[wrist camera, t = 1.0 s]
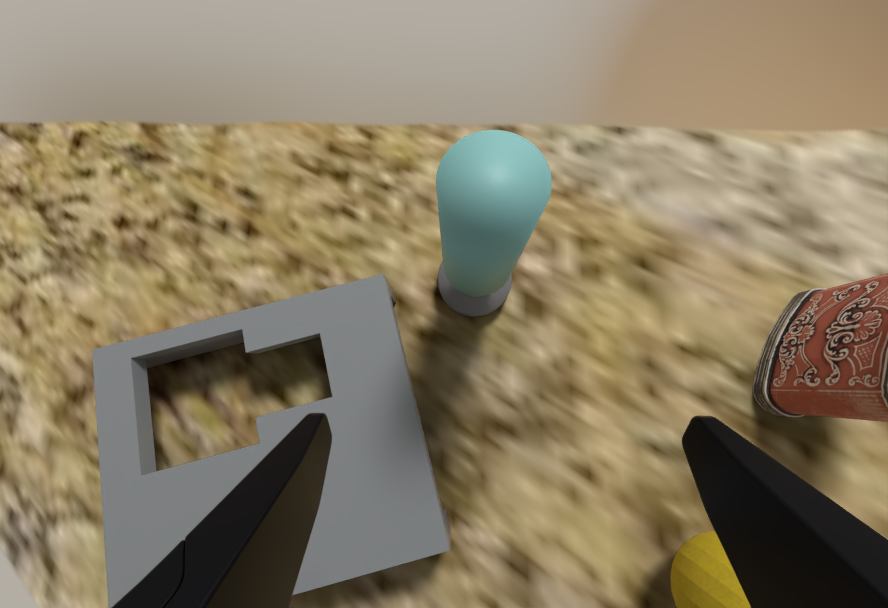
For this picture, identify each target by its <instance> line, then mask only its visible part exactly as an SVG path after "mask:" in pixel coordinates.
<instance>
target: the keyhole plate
mask: <svg viewBox="0 0 888 608" xmlns="http://www.w3.org/2000/svg"><path fill="white" fill-rule="evenodd" d="M393 303H396V301H395V297H394V293H393V289H392V286H391V285H390V283H389V282H388V280H387V279H386V277H385V275H384V274H381V275H377V276H373V277H369V278H365V279H361V280H358V281H354V282H350V283H346V284H342V285H338V286H335V287H331V288H327V289H323V290H319V291H315V292H312V293H308V294H304V295H300V296H296V297H292V298H289V299H285V300H281V301H277V302H273V303H269V304H265V305H262V306H258V307H254V308H250V309H246V310H242V311H239V312H235V313H231V314H227V315H223V316H219V317H216V318H212V319H208V320H204V321H200V322H196V323H193V324H189V325H185V326H181V327H177V328H173V329H170V330H166V331H162V332H158V333H154V334H150V335H146V336H143V337H139V338H135V339H131V340H127V341H123V342H120V343H116V344H112V345H108V346H104V347H100V348H97V349H93V350H92V354H93V370H94V385H95V401H96V416H97V432H98V447H99V463H100V478H101V494H102V509H103V525H104V540H105V556H106V571H107V587H108V602H109V608H111V607H113V606H114V605H115V604H116V603H117V602H118V601H119V600H120V599H121V598H122V597H124V596H125V595H126V594H127V593H128V592H129V591H130V590H131V589H132V588H133V587H135V586H136V585H137V584H138V583H139V582H140V581H141V580H142V579H143V578H144V577H145V576H146V575H147V574H148V573H149V572H150V571H151V570H152V569H153V568H154V567H155V566H156V565H157V564H158V563H160V562H161V561H162V560H163V559H164V558H165V557H166V556H167V555H168V554H169V553H170V552H171V551H172V550H173V549H174V548H175V547H176V546H177V545H178V544H179V543H180V542H181V541H182V540H185V537H186V536H187V535H188V534H189V533H190V532H191V531H192V530H193V529H194V528H195V527H196V526H197V525H198V524H199V523H200V522H201V521H202V520H203V519H204V518H205V517H206V516H207V515H208V514H209V513H210V512H211V511H212V510H213V509H214V508H215V507H216V506H217V505H218V504H219V503H220V502H221V501H222V500H223V499H224V498H225V497H226V496H227V495H228V494H229V493H230V492H231V491H232V490H233V488H234V487H235V486H236V485H237V484H238V483H239V482H240V481H241V480H242V479H243V478H244V477H245V476H246V475H247V474H248V473H249V472H250V471H251V470H252V469H253V468H254V467H255V466H256V465H257V464H258V463H259V462H260V461H261V460H262V459H263V458H264V457H265V456H266V455H267V454H268V453H269V452H270V451H271V450H272V449H273V448H274V447H275V446H276V445H277V444H278V443H279V442H280V441H281V440H282V439H283V438H284V437H285V436H286V435H287V434H288V433H289V432H290V431H291V430H292V429H293V428H294V427H295V426H296V425H297V424H298V423H299V422H300V421H301V420H302V419H303V418H304V417H305V416H306V415H307V414H309V413H325V414H326V415H327V418H328V422H329V425H330V429H331V433H332V444H331V450H330V455H329V460H328V465H327V470H326V476H325V481H324V486H323V491H322V496H321V501H320V505H319V509H318V512H317V516H316V519H315V522H314V526H313V529H312V532H311V535H310V539H309V542H308V545H307V549H306V552H305V555H304V558H303V562H302V565H301V568H300V571H299V575H298V578H297V581H296V585H295V588H294V591H293V594H292V595H295V594H299V593H302V592H306V591H309V590H313V589H316V588H320V587H323V586H327V585H330V584H334V583H337V582H341V581H344V580H348V579H352V578H355V577H359V576H362V575H366V574H369V573H373V572H376V571H380V570H383V569H387V568H390V567H394V566H397V565H401V564H404V563H408V562H411V561H415V560H418V559H422V558H425V557H429V556H432V555H436V554H439V553H443V552H446V551H450V523H449V519H448V515H447V511H446V508H443V509H442V506H441V502H440V498H439V494H438V490H437V486H436V481H435V477H434V473H433V469H432V465H431V461H430V457H429V452H428V448H427V444H426V440H425V436H424V432H423V428H422V423H421V419H420V415H419V411H418V407H417V403H416V399H415V394H414V390H413V386H412V382H411V378H410V374H409V369H408V365H407V361H406V357H405V353H404V349H403V345H402V340H401V336H400V332H399V328H398V324H397V320H396V316H395V311H394V307H393ZM318 337H321V341H322V347H323V352H324V357H325V362H326V367H327V372H328V377H329V382H330V388H331V393H332V397H330V398H326V399H323V400H319V401H315V402H311V403H308V404H304V405H300V406H297V407H293V408H289V409H285V410H282V411H278V412H274V413H271V414H267V415H263V416H259V417H256V423H257V430H258V437H259V444H255V445H252V446H248V447H244V448H241V449H237V450H233V451H229V452H226V453H222V454H218V455H215V456H211V457H207V458H204V459H200V460H196V461H193V462H189V463H185V464H182V465H178V466H174V467H171V468H167V469H163V470H159V471H156V461H155V450H154V440H153V429H152V418H151V408H150V397H149V387H148V376H147V368H150V367H153V366H157V365H161V364H165V363H169V362H172V361H176V360H180V359H184V358H188V357H191V356H195V355H199V354H203V353H207V352H210V351H214V350H218V349H222V348H226V347H229V346H233V345H237V344H241V343H244V344H245V351H246V353H251V354H258V353H262V352H265V351H269V350H273V349H277V348H281V347H284V346H288V345H292V344H296V343H299V342H303V341H307V340H311V339H315V338H318Z"/></svg>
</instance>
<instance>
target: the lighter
mask: <svg viewBox="0 0 888 608" xmlns="http://www.w3.org/2000/svg"><path fill="white" fill-rule="evenodd" d="M753 394H754V397H755V400H756V401H757V402H758V404H759V405H760V406H761V407H762V408H763V409H765V410H766V411H767V412H769V413H771V414H774V415H777V416H787V417H801V416H805V415H813V416H825V417H837V418H849V419H860V420H872V421H884V422H888V274H884V275H880V276H876V277H872V278H868V279H864V280H860V281H856V282H853V283H849V284H845V285H841V286H837V287H833V288H829V289H825V288H816V289H812V290H808V291H805V292H801V293H798V294H797V295H795V296H794V297H793V298H792V300H791V301H790V302H789V304H788V305H787V306H786V307H785V309H784V310H783V311H782V312H781V314H780V315H779V317H778V319H777V320H776V322H775V324H774V326H773V327H772V329H771V331H770V333H769V334H768V336H767V339H766V341H765V344H764V347H763V349H762V352H761V355H760V358H759V360H758V364H757V369H756V373H755V378H754V382H753Z"/></svg>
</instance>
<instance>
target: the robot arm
mask: <svg viewBox="0 0 888 608" xmlns="http://www.w3.org/2000/svg"><path fill="white" fill-rule="evenodd" d="M331 444H332V433H331V429H330V425H329V422H328V418H327V415H326V414H325V413H309V414H307V415H306V416H305V417H304V418H303V419H302V420H301V421H300V422H299V423H298V424H297V425H296V426H295V427H294V428H293V429H292V430H291V431H290V432H289V433H288V434H287V435H286V436H285V437H284V438H283V439H282V440H281V441H280V442H279V443H278V444H277V445H276V446H275V447H274V448H273V449H272V450H271V451H270V452H269V453H268V454H267V455H266V456H265V457H264V458H263V459H262V460H261V461H260V462H259V463H258V464H257V465H256V466H255V467H254V468H253V469H252V470H251V471H250V472H249V473H248V474H247V475H246V476H245V477H244V478H243V479H242V480H241V481H240V482H239V483H238V484H237V485H236V486H235V487H234V488H233V490H232V491H231V492H230V493H229V494H228V495H227V496H226V497H225V498H224V499H223V500H222V501H221V502H220V503H219V504H218V505H217V506H216V507H215V508H214V509H213V510H212V511H211V512H210V513H209V514H208V515H207V516H206V517H205V518H204V519H203V520H202V521H201V522H200V523H199V524H198V525H197V526H196V527H195V528H194V529H193V530H192V531H191V532H190V533H189V534H188V535H187V536H186V537H185V540H182V541H181V542H180V543H179V544H178V545H177V546H176V547H175V548H174V549H173V550H172V551H171V552H170V553H169V554H168V555H167V556H166V557H165V558H164V559H163V560H162V561H161V562H160V563H158V564H157V565H156V566H155V567H154V568H153V569H152V570H151V571H150V572H149V573H148V574H147V575H146V576H145V577H144V578H143V579H142V580H141V581H140V582H139V583H138V584H137V585H136V586H135V587H133V588H132V589H131V590H130V591H129V592H128V593H127V594H126V595H125V596H124V597H122V598H121V599H120V600H119V601H118V602H117V603H116V604H115V605H114V606H113V607H111V608H288V607H289V604H290V601H291V598H292V594H293V591H294V588H295V585H296V581H297V578H298V575H299V571H300V568H301V565H302V562H303V558H304V555H305V552H306V549H307V545H308V542H309V539H310V535H311V532H312V529H313V526H314V522H315V519H316V516H317V512H318V509H319V505H320V501H321V496H322V491H323V486H324V481H325V476H326V470H327V465H328V460H329V455H330V450H331ZM682 445H683V449H684V452H685V455H686V458H687V460H688V463H689V466H690V469H691V472H692V474H693V477H694V480H695V483H696V486H697V489H698V491H699V494H700V497H701V500H702V502H703V505H704V507H705V510H706V512H707V514H708V517H709V519H710V521H711V523H712V525H713V528H714V530H715V532H716V534H717V536H718V538H719V540H720V542H721V545H722V547H723V549H724V551H725V553H726V555H727V557H728V560H729V562H730V564H731V566H732V568H733V570H734V572H735V574H736V577H737V579H738V581H739V583H740V585H741V587H742V589H743V591H744V594H745V596H746V598H747V600H748V602H749V604H750V606H751V608H888V540H887V539H886V538H884V537H883V536H882V535H880V534H879V533H877V532H876V531H874V530H873V529H872V528H870V527H869V526H867V525H866V524H865V523H863V522H862V521H860V520H859V519H858V518H856V517H855V516H853V515H852V514H851V513H849V512H848V511H846V510H845V509H843V508H842V507H841V506H839V505H838V504H836V503H835V502H834V501H832V500H831V499H829V498H828V497H827V496H825V495H824V494H822V493H821V492H820V491H818V490H817V489H815V488H814V487H812V486H811V485H810V484H808V483H807V482H805V481H804V480H803V479H801V478H800V477H798V476H797V475H796V474H794V473H793V472H791V471H790V470H789V469H787V468H786V467H784V466H783V465H781V464H780V463H779V462H777V461H776V460H774V459H773V458H772V457H770V456H769V455H767V454H766V453H765V452H763V451H762V450H760V449H759V448H757V447H756V446H755V445H753V444H752V443H750V442H749V441H748V440H746V439H745V438H743V437H742V436H741V435H739V434H738V433H736V432H735V431H734V430H732V429H731V428H729V427H728V426H726V425H725V424H724V423H722V422H721V421H719V420H718V419H716V418H715V417H712V416H695V417H693V418H692V419H691V421H690V423H689V425H688V427H687V429H686V431H685V433H684V435H683V437H682Z"/></svg>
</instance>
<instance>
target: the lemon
mask: <svg viewBox="0 0 888 608" xmlns="http://www.w3.org/2000/svg"><path fill="white" fill-rule="evenodd" d="M671 591H672V595H673V598H674V602H675V605H676V608H751V606H750V604H749V602H748V600H747V598H746V596H745V594H744V591H743V589H742V587H741V585H740V583H739V581H738V579H737V577H736V574H735V572H734V570H733V568H732V566H731V564H730V562H729V560H728V557H727V555H726V553H725V551H724V549H723V547H722V545H721V542H720V540H719V538H718V536H717V534H716V532H715V531H708V532H705V533H701V534H698V535H695V536H694V537H692V538H691V539H689V540H687V541H686V542H685V543H684V544H683V545H682V546H681V547H680V549H679V550H678V551H677V553H676V555H675V558H674V560H673V563H672V568H671Z"/></svg>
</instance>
